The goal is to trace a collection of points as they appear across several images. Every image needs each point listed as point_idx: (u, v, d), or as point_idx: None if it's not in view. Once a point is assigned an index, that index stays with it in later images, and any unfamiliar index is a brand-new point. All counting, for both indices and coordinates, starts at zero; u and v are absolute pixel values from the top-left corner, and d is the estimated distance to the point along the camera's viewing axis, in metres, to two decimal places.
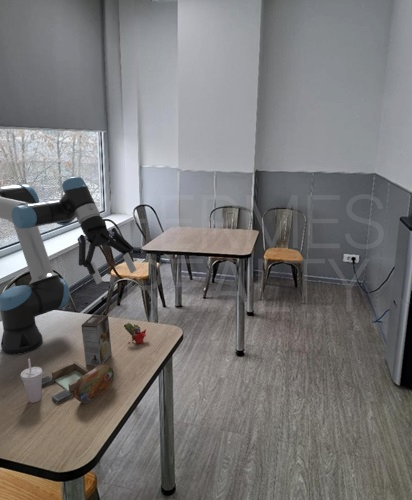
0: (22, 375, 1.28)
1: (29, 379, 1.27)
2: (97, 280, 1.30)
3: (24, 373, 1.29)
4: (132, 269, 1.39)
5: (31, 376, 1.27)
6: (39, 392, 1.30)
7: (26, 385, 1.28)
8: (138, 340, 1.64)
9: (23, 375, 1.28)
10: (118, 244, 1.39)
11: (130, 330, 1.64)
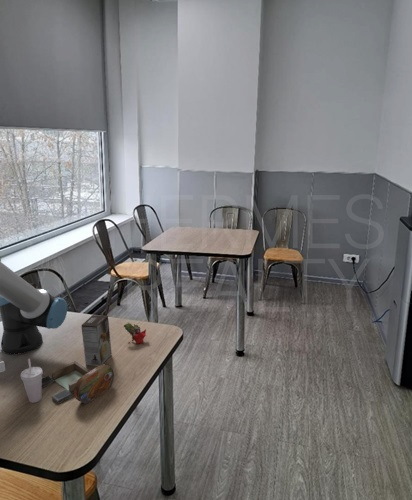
0: (22, 375, 1.28)
1: (29, 379, 1.27)
2: None
3: (24, 373, 1.29)
4: None
5: (31, 376, 1.27)
6: (39, 392, 1.30)
7: (26, 385, 1.28)
8: (138, 340, 1.64)
9: (23, 375, 1.28)
10: None
11: (130, 330, 1.64)
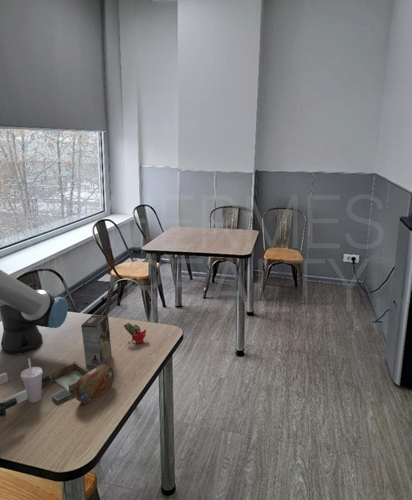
0: (22, 375, 1.28)
1: (29, 379, 1.27)
2: None
3: (24, 373, 1.29)
4: None
5: (31, 376, 1.27)
6: (39, 392, 1.30)
7: (26, 385, 1.28)
8: (138, 340, 1.64)
9: (23, 375, 1.28)
10: None
11: (130, 330, 1.64)
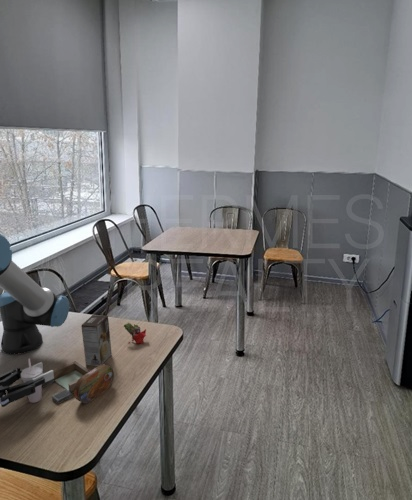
0: (22, 375, 1.28)
1: (29, 379, 1.27)
2: None
3: (24, 373, 1.29)
4: None
5: (31, 376, 1.27)
6: (39, 392, 1.30)
7: None
8: (138, 340, 1.64)
9: (23, 375, 1.28)
10: None
11: (130, 330, 1.64)
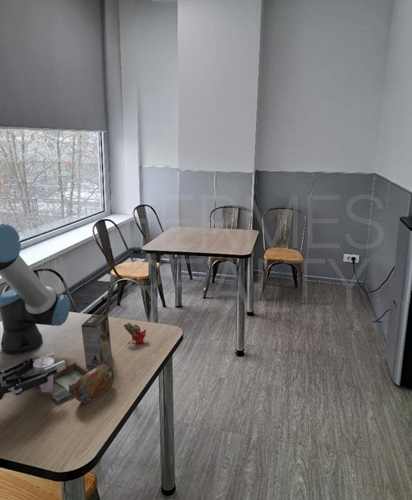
0: (34, 365, 1.30)
1: (41, 369, 1.29)
2: None
3: (36, 363, 1.31)
4: None
5: (43, 366, 1.29)
6: (51, 382, 1.32)
7: None
8: (138, 340, 1.64)
9: (35, 365, 1.30)
10: None
11: (130, 330, 1.64)
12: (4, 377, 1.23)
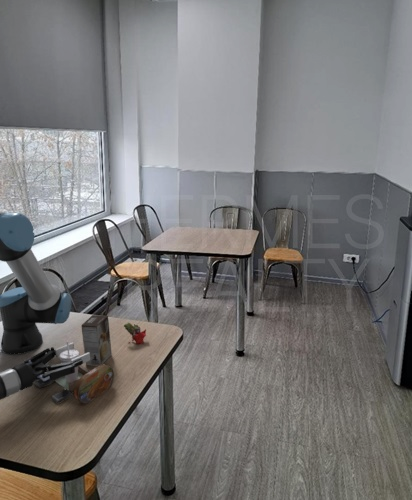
0: (61, 356, 1.37)
1: (68, 360, 1.36)
2: None
3: (63, 354, 1.38)
4: None
5: (70, 357, 1.36)
6: (76, 373, 1.39)
7: None
8: (138, 340, 1.64)
9: (62, 356, 1.37)
10: None
11: (130, 330, 1.64)
12: (33, 365, 1.30)
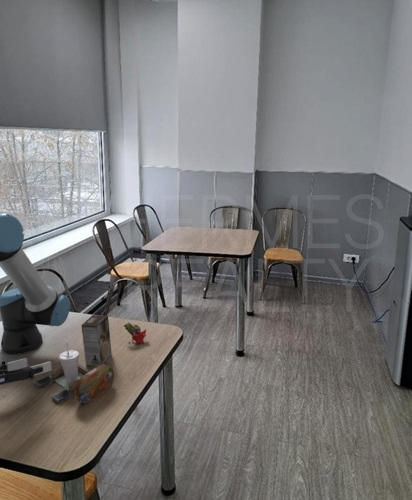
0: (61, 357, 1.37)
1: (67, 361, 1.36)
2: None
3: (62, 355, 1.38)
4: None
5: (69, 358, 1.36)
6: (76, 373, 1.39)
7: (64, 366, 1.37)
8: (138, 340, 1.64)
9: (62, 357, 1.37)
10: None
11: (130, 330, 1.64)
12: None
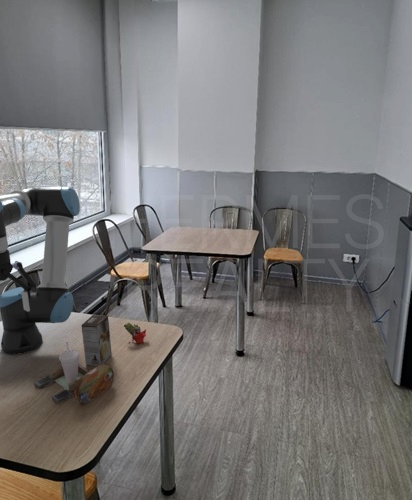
0: (61, 357, 1.37)
1: (68, 361, 1.36)
2: None
3: (62, 355, 1.38)
4: (25, 308, 1.32)
5: (69, 358, 1.36)
6: (76, 373, 1.39)
7: (64, 367, 1.37)
8: (138, 340, 1.64)
9: (62, 357, 1.37)
10: (18, 282, 1.28)
11: (130, 330, 1.64)
12: None
